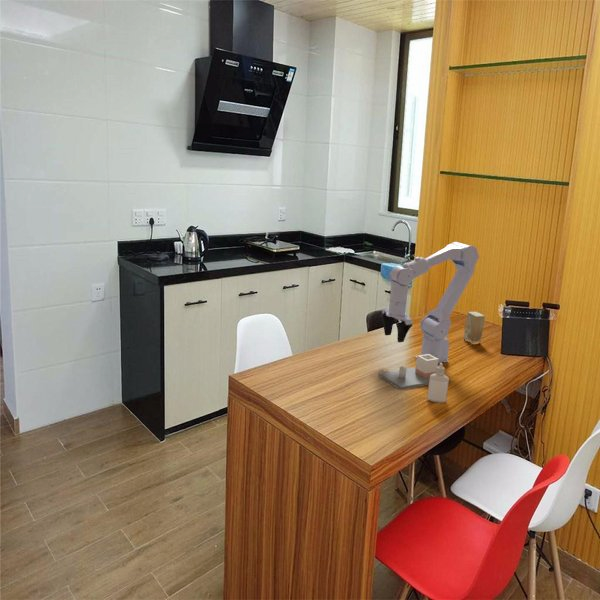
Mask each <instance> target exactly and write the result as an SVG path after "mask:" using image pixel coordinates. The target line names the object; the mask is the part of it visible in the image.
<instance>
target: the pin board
mask: <svg viewBox="0 0 600 600" xmlns="http://www.w3.org/2000/svg"><path fill="white" fill-rule="evenodd" d="M415 369H416V366H414V367H411V368H410V367H408V368H407V366H400V367H399V369H396V370H395V369H394V370H390V371H383V372H379V373H378V376H379V378H382V379H383V380H385V381H386V382H388V383H389V384H391V385H392V386H394V387H395V388H397V389H399V390H400V391H402V390H408V389H413V388H418V387H424V385H426V386H429V380H430V377H426V378H424V377H423V376H421V375H419V374H417V373H416V372H415ZM449 381H450V378H449Z"/></svg>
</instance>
